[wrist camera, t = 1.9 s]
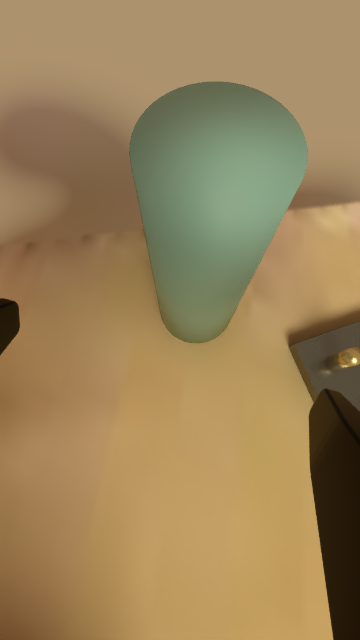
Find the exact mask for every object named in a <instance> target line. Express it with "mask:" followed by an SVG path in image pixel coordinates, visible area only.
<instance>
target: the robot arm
mask: <svg viewBox="0 0 360 640" xmlns="http://www.w3.org/2000/svg"><path fill="white" fill-rule="evenodd" d="M19 328H20V321H19V307H18V304H17V303H16V302H15V301H11V300H8V299H4V298H1V299H0V355H1V354H2V353H3V351H4V350H5V349H6V347H7V346H8V345H9V344H10V342H11V341H12V340H13V339H14V337H15V336H16V335H17V333H18V331H19ZM309 449H310V472H311V480H312V488H313V495H314V502H315V509H316V516H317V524H318V531H319V538H320V545H321V553H322V560H323V567H324V574H325V582H326V589H327V596H328V603H329V610H330V618H331V625H332V632H333V639H334V640H360V411H359V410H358V409H357V408H356V407H355V406H354V405H353V404H352V403H351V402H350V401H349V400H348V399H347V398H345V397H344V396H343V395H342V394H341V393H340V392H338V391H335V390H331V389H328V388H324V389H322V390H321V391H320V393H319V395H318V397H317V399H316V400H315V402H314V404H313V406H312V408H311V410H310V413H309Z"/></svg>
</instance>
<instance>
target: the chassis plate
mask: <svg viewBox="0 0 360 640" xmlns="http://www.w3.org/2000/svg"><path fill="white" fill-rule="evenodd" d="M289 349H290V351H291V353H292V355H293V358H294V360H295V362H296V364H297V366H298V369H299V371H300V373H301V375H302V377H303V380H304V382H305V384H306V386H307V388H308V391H309V393H310V395H311V397H312V399H313V402H315V400H316V399H317V397H318V395H319V393H320V391H321V390H322V389H324V388H328V389H331V390H335V391H338V392H340V393H341V394H342V395H343V396H344V397H345V398H347V399H348V400H349V401H350V402H351V403H352V404H353V405H354V406H355V407H356V408H357V409H358V410H359V411H360V321H358V322H355V323H353V324H350V325H347V326H344V327H341V328H338V329H336V330H333V331H330V332H327V333H324V334H321V335H319V336H316V337H313V338H310V339H307V340H304V341H302V342H299V343H296V344H293V345H292V346H290V347H289Z"/></svg>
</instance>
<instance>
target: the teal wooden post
mask: <svg viewBox="0 0 360 640" xmlns="http://www.w3.org/2000/svg"><path fill="white" fill-rule="evenodd" d="M129 153H130V162H131V167H132V172H133V177H134V182H135V186H136V192H137V197H138V202H139V207H140V212H141V217H142V222H143V227H144V232H145V237H146V242H147V247H148V252H149V257H150V262H151V267H152V272H153V278H154V283H155V288H156V293H157V298H158V303H159V308H160V313H161V317H162V320H163V323H164V325H165V326H166V328H167V329H168V330H169V332H170V333H171V334H173V335H174V336H175V337H177V338H179V339H180V340H183V341H186V342H190V343H203V342H207V341H210V340H212V339H214V338H216V337H217V336H219V335H220V334H221V333H222V332H223V331H224V330H225V328H226V327H227V325H228V323H229V321H230V319H231V317H232V315H233V314H234V312H235V310H236V308H237V306H238V304H239V302H240V300H241V298H242V296H243V294H244V292H245V290H246V288H247V286H248V284H249V282H250V280H251V279H252V277H253V275H254V273H255V271H256V269H257V267H258V265H259V263H260V261H261V259H262V257H263V255H264V253H265V251H266V249H267V247H268V245H269V244H270V242H271V240H272V238H273V236H274V234H275V232H276V230H277V228H278V226H279V224H280V222H281V220H282V218H283V216H284V214H285V212H286V210H287V209H288V207H289V204H290V203H291V201H292V199H293V197H294V195H295V193H296V191H297V189H298V187H299V185H300V183H301V181H302V179H303V177H304V174H305V170H306V166H307V161H308V160H307V159H308V151H307V144H306V140H305V137H304V134H303V131H302V129H301V127H300V126H299V124H298V122H297V121H296V119H295V118H294V116H293V115H292V114H291V113H290V112H289V111H288V110H287V109H286V108H285V107H284V106H283V105H282V104H281V103H280V102H278V101H277V100H275V99H274V98H272V97H271V96H269V95H267V94H265V93H263V92H261V91H259V90H256V89H254V88H251V87H248V86H245V85H241V84H236V83H229V82H203V83H197V84H191V85H187V86H184V87H181V88H178V89H176V90H173V91H171V92H169V93H167V94H165V95H164V96H162V97H160V98H159V99H158V100H156V101H155V102H154V103H152V104H151V105H150V106H149V107H148V108H147V109H146V110H145V112H144V113H143V114H142V115H141V117H140V118H139V120H138V122H137V123H136V125H135V127H134V130H133V133H132V136H131V140H130V151H129Z"/></svg>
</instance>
